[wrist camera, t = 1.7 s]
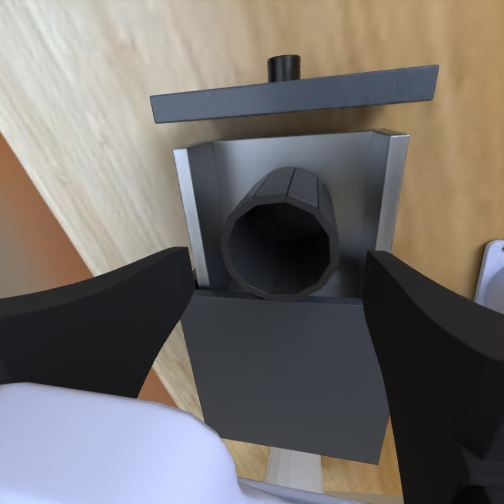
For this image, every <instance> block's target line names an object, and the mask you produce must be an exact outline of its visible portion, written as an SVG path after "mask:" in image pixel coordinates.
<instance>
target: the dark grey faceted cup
mask: <svg viewBox="0 0 504 504" xmlns="http://www.w3.org/2000/svg"><path fill="white" fill-rule="evenodd" d="M219 244H220V248H221V253H222V257H223V261H224V266H225V268H226V270H227V271H228V272H229V274H230V275H231V276H232V277H233V278H234V279H235V280H236V282H237V283H238V284H239V285H240V286H241V287H242V288H245V290H246V291H248V292H250V293H253V294H255V295H257V296H260V297H262V298H264V299H266V300H269V299H270V300H271V301H297V300H298V299H299V300H301V299H303V298H305V297H307V296H308V295H310V294H312V293H314V292H316V291H318V290H320V289H322V288H323V286H325V285H326V284H327V282H328V281H329V279H330V277H331V276H332V274H333V273H334V271H335V270H336V268H337V266H338V263H339V235H338V230H337V224H336V219H335V214H334V209H333V204H332V199H331V195H330V194H329V192H328V190H327V188H326V187H325V185H324V184H323V183H322V181H321V180H320V179H319V178H318V177H317V176H315V175H314V174H312V173H310V172H308V171H306V170H303V169H300V168H294V167H286V168H280V169H277V170H273V171H272V172H269V173H268V174H266V175H265V176H264V177H263V178H261V179H260V180H259V181H258V182H257V183H256V184H254V186H253V187H252V188H251V189H250V190H249V192H248V193H247V194H246V195H245V196H244V198H243V199H242V200H241V201H240V202H239V204H238V205H237V206H236V207H235V208H234V210H233V211H232V212H231V213H230V215H229V216H228V217H227V220H226V223H225V226H224V229H223V232H222V235H221V237H220V243H219Z"/></svg>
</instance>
